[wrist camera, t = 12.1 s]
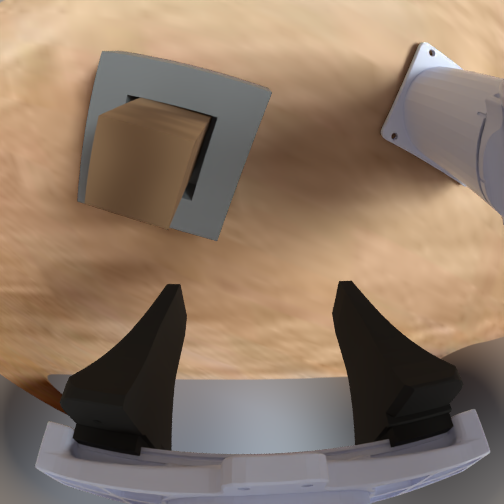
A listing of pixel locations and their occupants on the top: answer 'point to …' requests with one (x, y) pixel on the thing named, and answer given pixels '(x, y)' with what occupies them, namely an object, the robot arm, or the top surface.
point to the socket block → (194, 98)
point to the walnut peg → (144, 159)
